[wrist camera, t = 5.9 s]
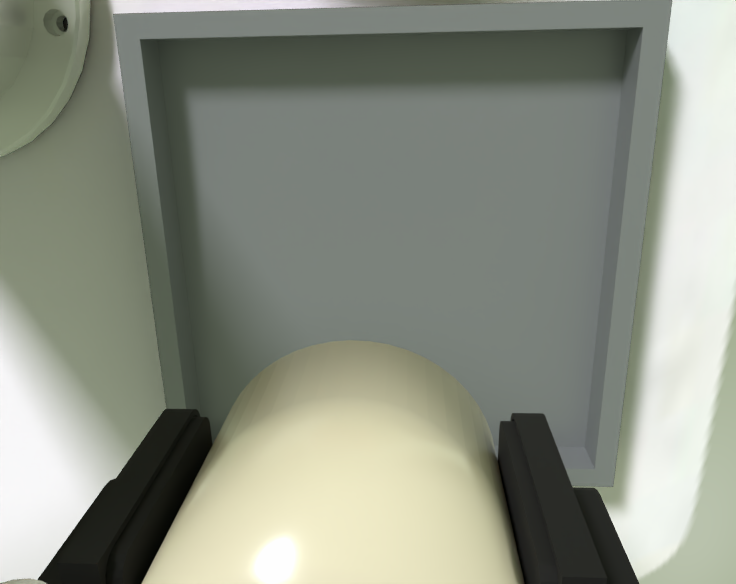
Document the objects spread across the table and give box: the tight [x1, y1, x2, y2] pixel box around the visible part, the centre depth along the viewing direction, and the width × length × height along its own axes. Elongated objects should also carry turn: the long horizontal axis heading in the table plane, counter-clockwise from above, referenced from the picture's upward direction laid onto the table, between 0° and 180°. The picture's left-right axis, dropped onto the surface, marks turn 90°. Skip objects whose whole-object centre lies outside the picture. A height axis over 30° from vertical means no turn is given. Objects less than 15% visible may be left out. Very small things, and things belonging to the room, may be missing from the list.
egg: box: [142, 340, 525, 584], centre depth 10 cm, size 5×5×6 cm
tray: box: [113, 0, 672, 487], centre depth 25 cm, size 18×18×2 cm
